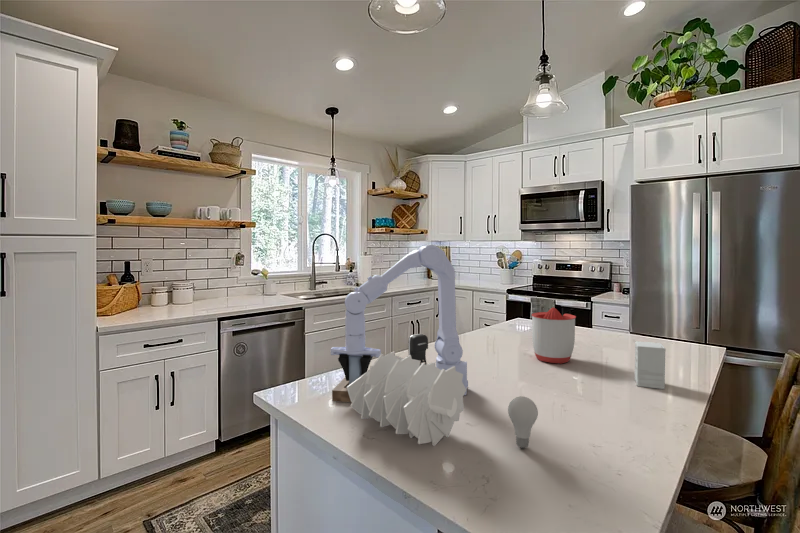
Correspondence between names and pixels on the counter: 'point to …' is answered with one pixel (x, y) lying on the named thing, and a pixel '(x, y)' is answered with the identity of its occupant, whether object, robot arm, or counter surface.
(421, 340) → the battery charger
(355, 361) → the peg
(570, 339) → the citrus juicer
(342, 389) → the socket block
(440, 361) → the robot arm
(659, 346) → the supplement box
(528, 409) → the lightbulb
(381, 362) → the spiral staircase
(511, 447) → the counter surface
